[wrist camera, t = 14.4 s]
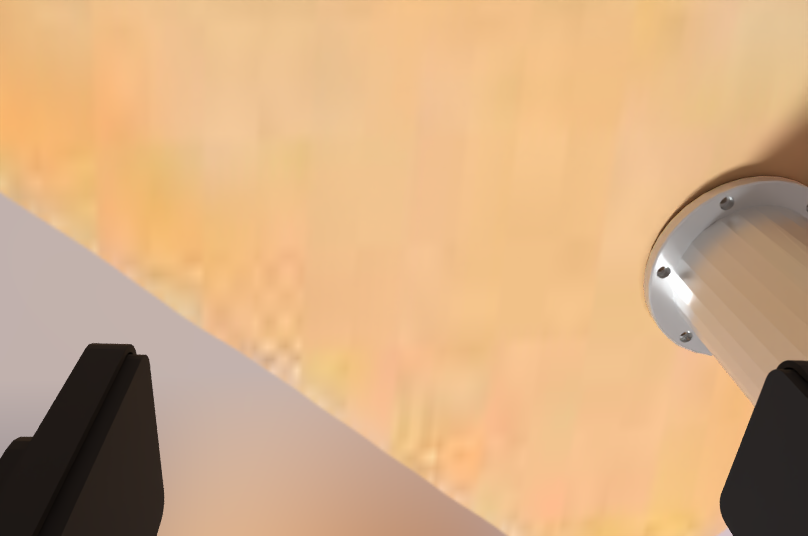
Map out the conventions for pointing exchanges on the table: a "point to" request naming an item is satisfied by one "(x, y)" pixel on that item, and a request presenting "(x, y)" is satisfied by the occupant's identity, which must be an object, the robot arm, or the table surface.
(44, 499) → the robot arm
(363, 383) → the table surface
